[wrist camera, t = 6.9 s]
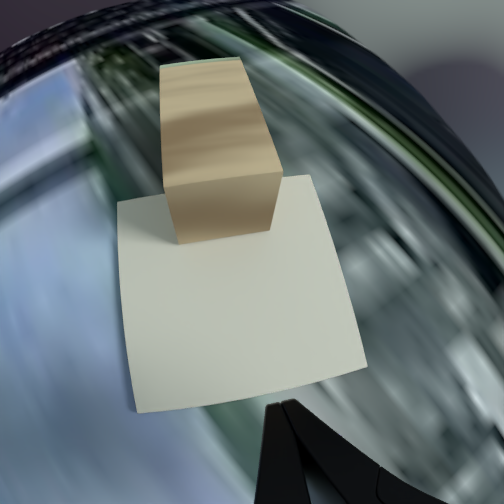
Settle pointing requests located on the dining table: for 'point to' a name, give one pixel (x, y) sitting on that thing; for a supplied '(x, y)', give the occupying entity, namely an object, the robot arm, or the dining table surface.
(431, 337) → the dining table surface
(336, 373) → the stone tile
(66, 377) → the dining table surface
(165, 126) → the beech block
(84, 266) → the dining table surface
